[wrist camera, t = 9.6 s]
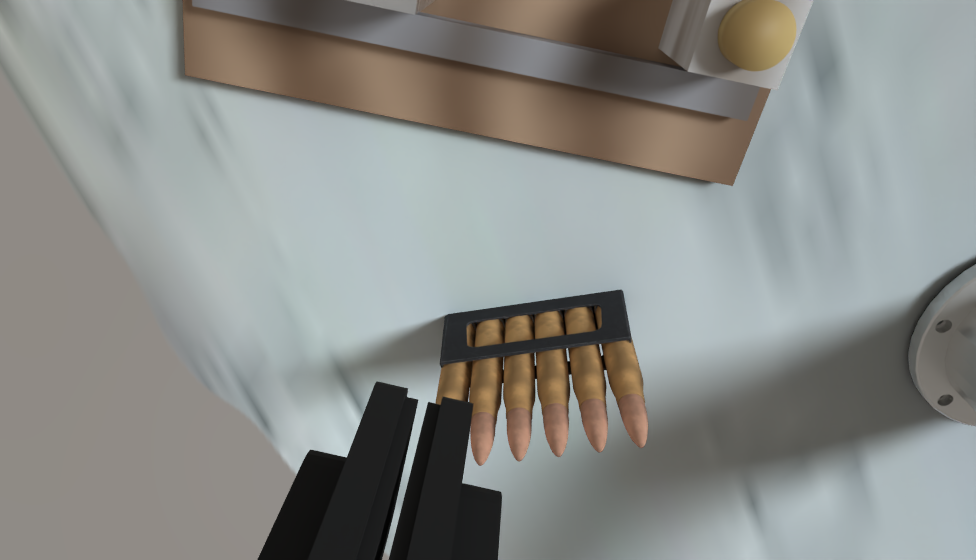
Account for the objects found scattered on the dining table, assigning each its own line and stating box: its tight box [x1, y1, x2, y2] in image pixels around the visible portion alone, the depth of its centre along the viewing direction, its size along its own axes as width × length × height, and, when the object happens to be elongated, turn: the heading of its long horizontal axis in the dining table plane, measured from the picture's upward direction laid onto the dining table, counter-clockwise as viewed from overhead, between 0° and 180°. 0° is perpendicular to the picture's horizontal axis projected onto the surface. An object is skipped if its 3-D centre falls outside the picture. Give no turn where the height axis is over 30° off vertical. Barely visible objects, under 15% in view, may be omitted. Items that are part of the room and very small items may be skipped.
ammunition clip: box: [436, 290, 648, 466], centre depth 33 cm, size 11×2×12 cm, turn 101°
